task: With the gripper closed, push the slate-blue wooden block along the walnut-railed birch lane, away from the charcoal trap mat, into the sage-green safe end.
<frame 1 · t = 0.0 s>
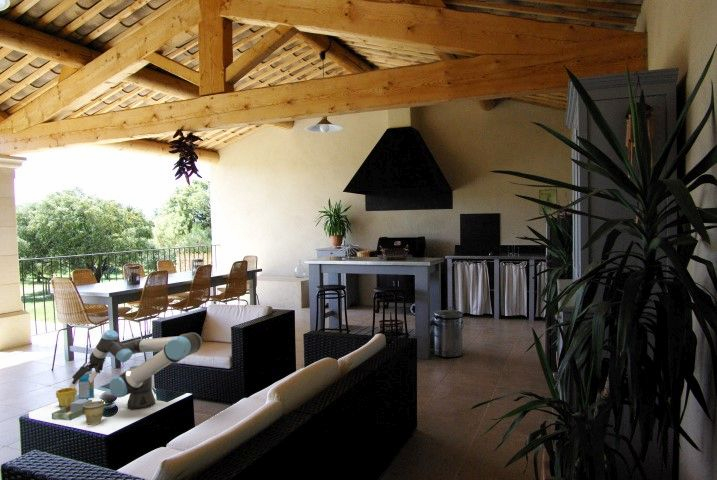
hand: (81, 384, 274), 15 cm above the table, tool tilted 35°, fingers open, 13 cm apart
beverage bottle: (86, 399, 296), on the table
plant pot: (66, 406, 283), on the table
lane box: (79, 413, 270), on the table
ceramic cup: (96, 422, 257), on the table
slate block: (81, 410, 272), point 1 cm above the table, touching lane box
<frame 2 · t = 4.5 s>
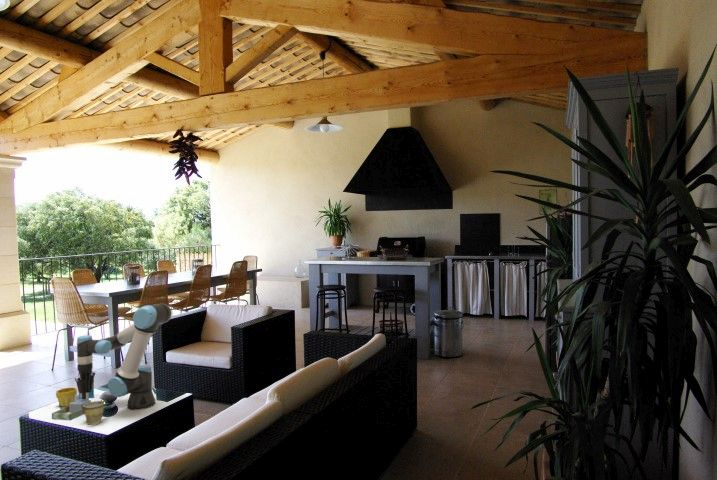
hand: (85, 404, 275), 4 cm above the table, tool pointing down, fingers closed
slate block: (80, 410, 271), point 1 cm above the table, touching gripper
everything else where it was.
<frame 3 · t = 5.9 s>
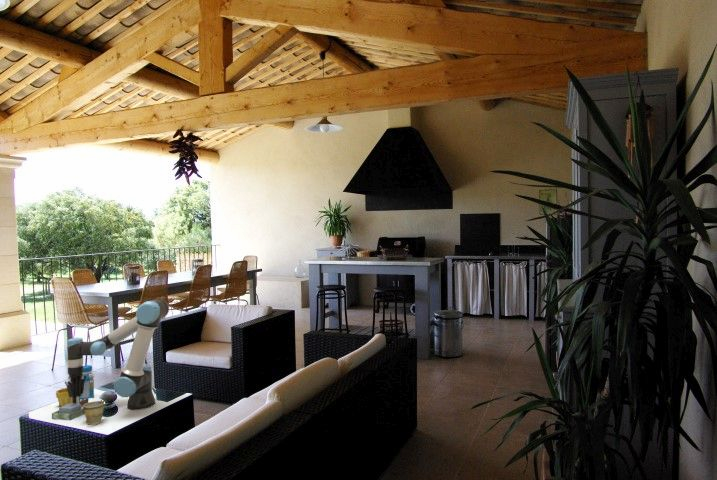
hand: (76, 408, 269), 3 cm above the table, tool pointing down, fingers closed
slate block: (70, 415, 264), point 1 cm above the table, touching gripper
everything else where it was.
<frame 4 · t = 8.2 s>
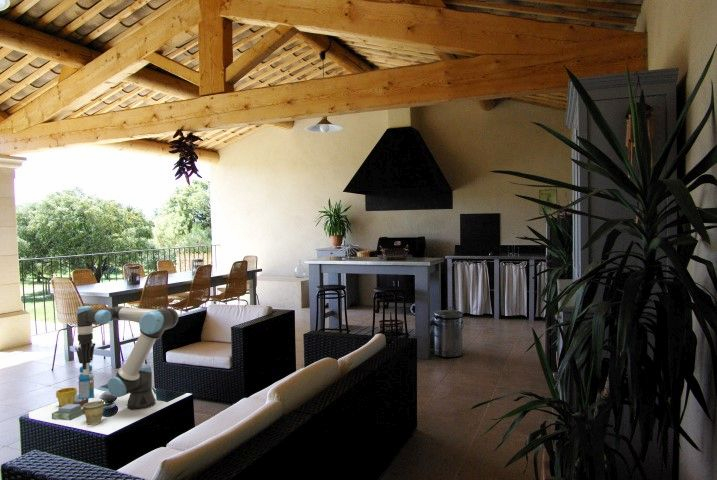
hand: (86, 374, 276), 20 cm above the table, tool pointing down, fingers closed
slate block: (70, 415, 264), point 1 cm above the table, touching lane box
everything else where it was.
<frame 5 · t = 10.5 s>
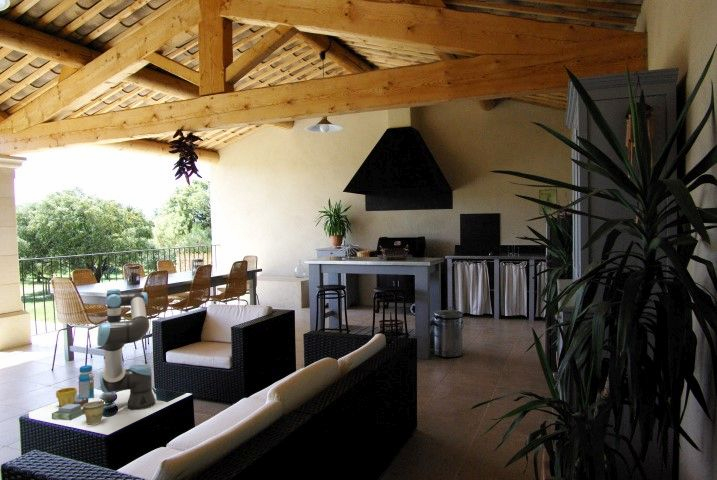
hand: (115, 353, 292), 28 cm above the table, tool pointing down, fingers closed
nothing on the table moved.
at the end: slate block 0.9 cm from the target spot, point 1.2 cm above the table; slate block tilted 0° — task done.
